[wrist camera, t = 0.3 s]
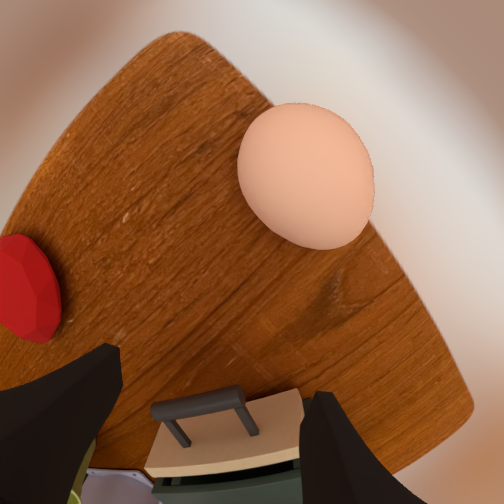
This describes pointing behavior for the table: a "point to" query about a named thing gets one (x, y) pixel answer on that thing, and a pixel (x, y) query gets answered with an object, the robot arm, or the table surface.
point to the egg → (307, 175)
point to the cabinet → (236, 489)
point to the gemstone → (28, 290)
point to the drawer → (225, 436)
